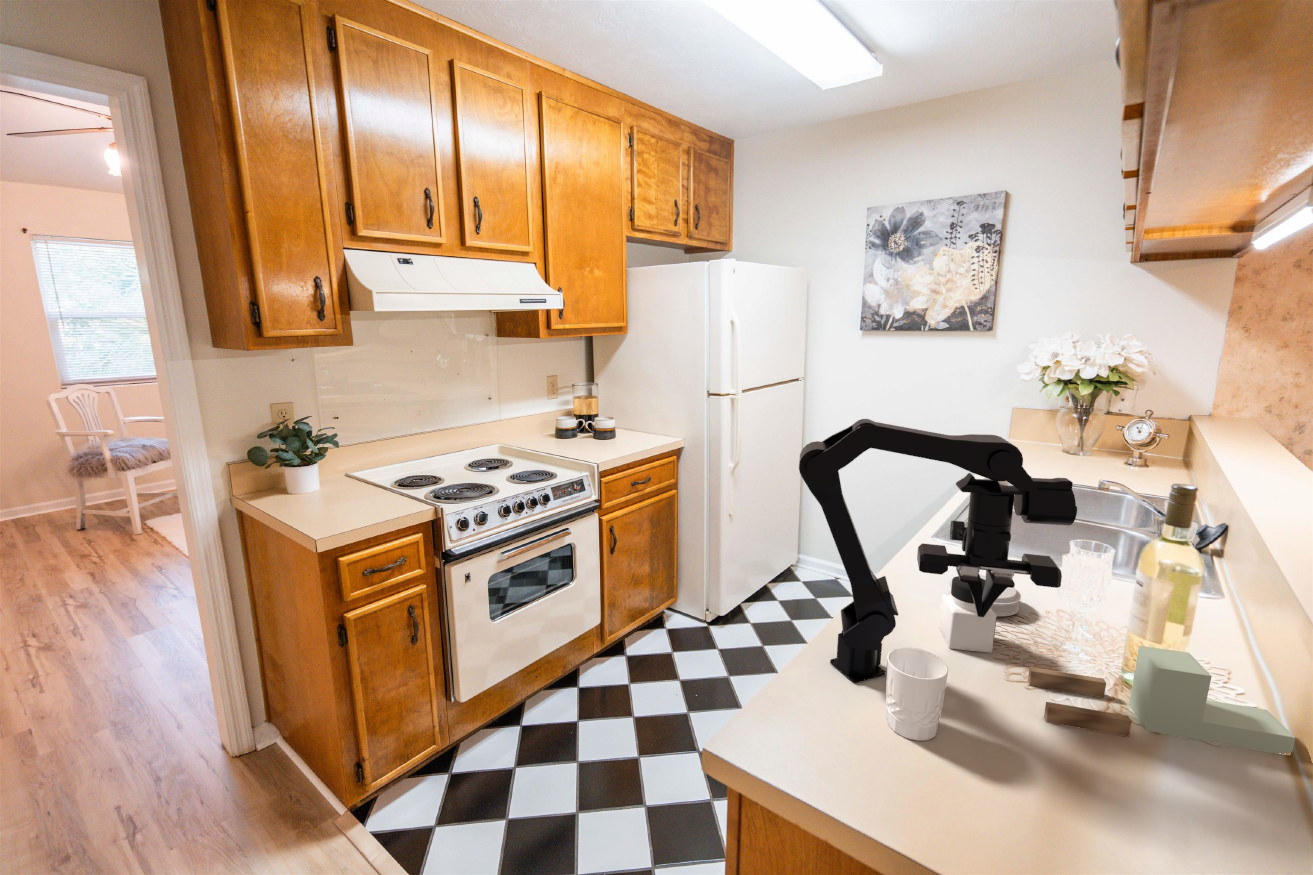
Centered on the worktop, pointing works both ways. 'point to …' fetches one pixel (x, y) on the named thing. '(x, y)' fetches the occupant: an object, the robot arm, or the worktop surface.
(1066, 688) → the walnut slot
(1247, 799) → the worktop surface
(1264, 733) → the key block
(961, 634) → the medicine bottle
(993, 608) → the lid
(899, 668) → the white cup
